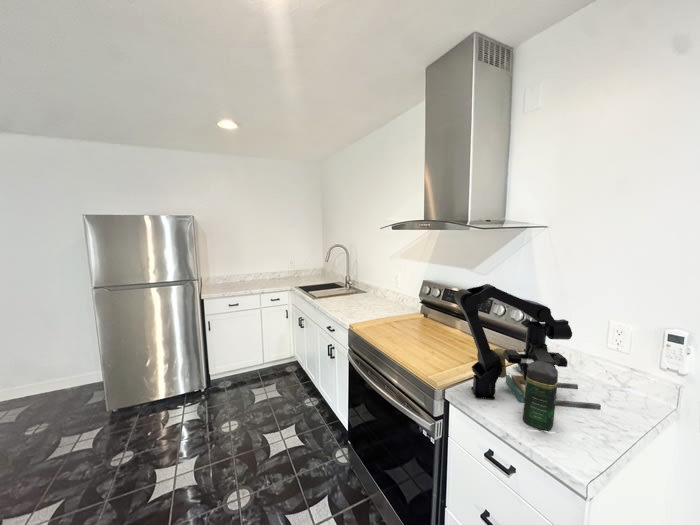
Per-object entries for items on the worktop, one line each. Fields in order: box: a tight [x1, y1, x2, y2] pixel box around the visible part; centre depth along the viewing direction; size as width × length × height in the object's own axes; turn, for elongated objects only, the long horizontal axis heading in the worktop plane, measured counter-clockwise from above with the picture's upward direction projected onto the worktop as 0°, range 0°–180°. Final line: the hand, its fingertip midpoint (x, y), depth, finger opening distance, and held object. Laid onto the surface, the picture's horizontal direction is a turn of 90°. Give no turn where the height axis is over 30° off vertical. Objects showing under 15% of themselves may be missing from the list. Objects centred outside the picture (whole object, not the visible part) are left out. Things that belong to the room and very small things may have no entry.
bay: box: [505, 374, 602, 410], centre depth 103 cm, size 26×16×4 cm, turn 81°
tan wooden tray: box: [510, 374, 526, 397], centre depth 104 cm, size 10×10×4 cm
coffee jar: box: [522, 361, 559, 432], centre depth 89 cm, size 10×8×19 cm
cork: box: [493, 347, 507, 378], centre depth 117 cm, size 6×6×11 cm
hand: (532, 380), depth 104 cm, fingers closed on block, 4 cm apart
